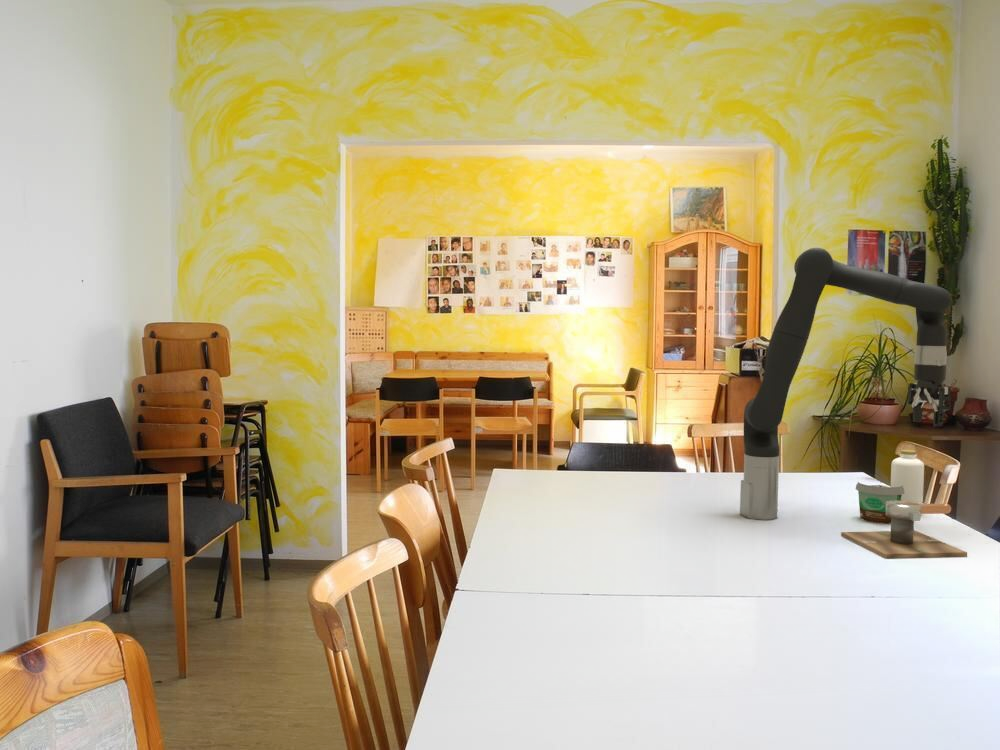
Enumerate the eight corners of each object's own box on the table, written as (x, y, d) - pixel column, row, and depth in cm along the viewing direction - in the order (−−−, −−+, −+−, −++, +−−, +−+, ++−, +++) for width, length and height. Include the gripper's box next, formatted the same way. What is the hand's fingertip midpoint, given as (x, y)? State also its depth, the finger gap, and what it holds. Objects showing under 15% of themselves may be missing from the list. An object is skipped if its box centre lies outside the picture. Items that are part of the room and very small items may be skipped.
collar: (901, 522, 197) (901, 508, 197) (875, 511, 208) (875, 498, 208) (964, 520, 199) (965, 507, 199) (935, 510, 210) (936, 497, 210)
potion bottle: (915, 510, 241) (917, 448, 240) (927, 517, 233) (929, 453, 232) (885, 510, 242) (887, 448, 241) (895, 516, 234) (898, 452, 233)
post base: (885, 558, 193) (886, 528, 192) (841, 535, 213) (842, 508, 212) (967, 556, 195) (968, 526, 194) (915, 534, 215) (916, 507, 214)
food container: (852, 521, 229) (853, 484, 228) (854, 516, 234) (855, 481, 233) (902, 526, 223) (904, 489, 222) (903, 521, 228) (904, 485, 228)
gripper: (900, 361, 228) (898, 420, 229) (934, 364, 214) (931, 427, 215) (926, 361, 229) (923, 420, 230) (961, 364, 215) (958, 427, 216)
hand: (927, 423), depth 223 cm, fingers open, 8 cm apart
